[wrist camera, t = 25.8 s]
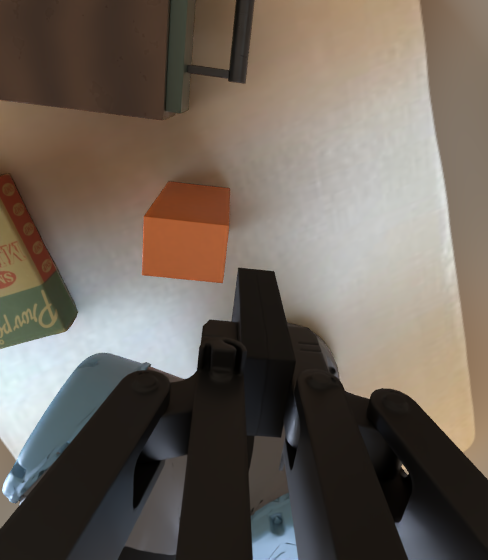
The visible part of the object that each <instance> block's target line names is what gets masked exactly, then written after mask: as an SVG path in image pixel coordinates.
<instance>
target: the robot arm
mask: <svg viewBox="0 0 488 560" xmlns="http://www.w3.org/2000/svg"><path fill="white" fill-rule="evenodd" d="M150 366H151V364H149V363H147V362H145V363H139V362H136V361H133V360H129V359H126V358H123V357H120V356H116V355H113V354H110V353H98V354H94V355H92V356H90V357H88V358H87V359H85V360H84V361H83V362H82V363H81V364H80V365H79V366H78V367H77V368H76V369H75V370H74V372H73V373H72V374H71V376H70V377H69V378H68V380H67V381H66V382H65V384H64V385H63V386H62V388H61V389H60V391H59V392H58V394H57V395H56V397H55V398H54V399H53V401H52V402H51V404H50V405H49V407H48V408H47V410H46V411H45V413H44V414H43V416H42V418H41V419H40V421H39V422H38V424H37V425H36V427H35V429H34V430H33V432H32V433H31V435H30V437H29V438H28V440H27V442H26V443H25V445H24V447H23V449H22V450H21V452H20V454H19V456H18V459H17V461H16V462H15V464H14V466H13V468H12V470H11V471H10V473H9V474H8V476H7V478H6V480H5V482H4V485H3V494H4V495H5V496H6V497H8V498H9V500H10V502H13V503H17V502H18V501H20V504H19V507H18V508H17V509H16V510H15V512H14V513H13V514H12V515H11V517H10V518H9V519H8V520H7V522H6V523H5V524H4V525H3V527H2V528H1V529H0V560H488V480H487V478H486V477H485V476H484V475H483V474H482V473H481V472H480V471H479V470H478V469H477V468H476V467H475V466H474V465H473V463H472V462H471V461H470V460H469V459H468V458H467V457H466V456H465V455H464V454H463V452H462V451H461V450H460V449H459V448H458V447H457V446H456V445H455V444H454V443H453V442H452V441H451V440H450V438H449V437H448V436H447V435H446V434H445V433H444V432H443V431H442V430H441V429H440V428H439V427H438V426H437V424H436V423H435V422H434V421H433V420H432V419H431V418H430V417H429V416H428V415H427V414H426V413H425V412H424V410H423V409H422V408H421V407H420V406H419V405H418V404H417V403H416V402H415V401H414V400H413V399H411V398H410V397H409V396H408V395H406V394H404V393H402V392H400V391H397V390H393V389H383V388H382V389H378V390H375V391H374V392H373V393H372V394H371V397H370V399H367V398H364V397H360V396H357V395H354V394H351V393H348V392H346V391H345V390H344V387H343V385H342V383H341V382H340V380H339V372H338V368H337V365H336V362H335V360H334V357H333V355H332V353H331V351H330V349H329V348H328V346H327V345H326V344H325V342H324V341H323V340H322V339H321V338H319V337H318V336H317V335H316V334H314V333H313V332H312V331H311V330H310V329H309V328H305V327H301V326H298V325H295V324H290V323H287V322H286V318H285V313H284V309H283V305H282V301H281V297H280V293H279V289H278V285H277V281H276V276H275V272H274V271H265V270H255V269H245V268H238V274H237V282H236V290H235V299H234V307H233V315H232V322H229V321H219V320H209V321H208V322H207V323H206V324H205V325H204V326H203V330H202V339H201V345H200V347H199V357H198V368H197V371H196V372H195V374H194V375H192V376H191V377H190V378H187V379H185V380H184V379H182V378H179V377H176V376H174V375H171V374H169V373H166V372H163V371H161V370H158V369H155V368H153V367H150ZM402 464H403V465H404V466H405V468H406V469H407V471H408V472H409V474H408V475H407V474H406V473H405V472H404V470H403V469H402V467H401V466H402Z"/></svg>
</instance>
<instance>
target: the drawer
mask: <svg viewBox="0 0 488 560" xmlns="http://www.w3.org/2000/svg"><path fill="white" fill-rule="evenodd" d="M195 2H196V0H170V21H169V42H168V64H167V85H166V107H165V111H167V112H175V113H182V112H185V111H187V110H188V108H189V93H190V78H191V74H198V75H205V76H213V77H220V78H228V81H230V82H236V83H246V74H247V65H248V56H249V47H250V38H251V29H252V20H253V11H254V2H255V0H236V5H235V15H234V25H233V36H232V46H231V57H230V67H229V70H225V69H217V68H210V67H202V66H195V65H191V62H192V47H193V32H194V17H195Z"/></svg>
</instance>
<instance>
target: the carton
mask: <svg viewBox="0 0 488 560" xmlns="http://www.w3.org/2000/svg"><path fill="white" fill-rule="evenodd" d="M77 313H78V311H77V310H76V307H75V304H74V302H73V300H72V298H71V296H70V294H69V292H68V290H67V288H66V286H65V284H64V282H63V280H62V278H61V276H60V274H59V272H58V270H57V268H56V266H55V264H54V262H53V260H52V259H51V256H50V254H49V252H48V251H47V249H46V247H45V245H44V243H43V242H42V240H41V236H40V235H39V233H38V230H37V229H36V227H35V225H34V223H33V221H32V219H31V217H30V215H29V214H28V212H27V209H26V207H25V205H24V203H23V201H22V199H21V197H20V195H19V193H18V191H17V189H16V187H15V184H14V182H13V181H12V178H11V176H10V173H8V174H4V175H1V176H0V349H2V348H6V347H9V346H13V345H17V344H20V343H24V342H28V341H31V340H35V339H39V338H43V337H46V336H50V335H54V334H59V333H62V332H66V331H67V330H68V329H69V328H70V327H71V325H72V324H73V322H74V320H75V318H76V317H77Z"/></svg>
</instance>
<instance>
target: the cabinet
mask: <svg viewBox="0 0 488 560" xmlns="http://www.w3.org/2000/svg"><path fill="white" fill-rule="evenodd" d="M169 21H170V0H0V100H4V101H12V102H20V103H28V104H36V105H44V106H52V107H60V108H68V109H76V110H84V111H92V112H100V113H108V114H116V115H124V116H132V117H140V118H148V119H156V120H164V119H167V118H169V117H172V116H174V115H176V113H175V112H167V111H165V107H166V85H167V64H168V42H169Z"/></svg>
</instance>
